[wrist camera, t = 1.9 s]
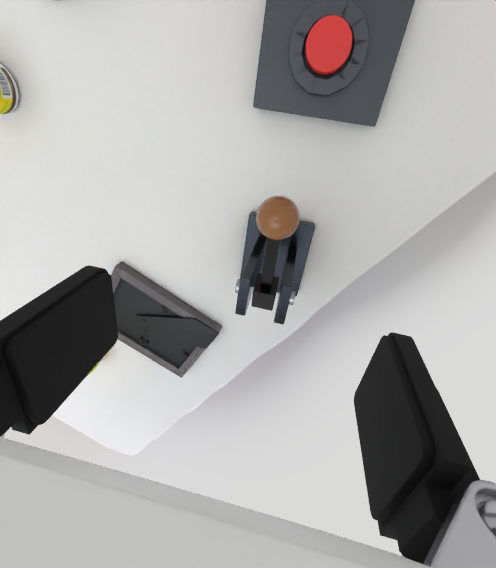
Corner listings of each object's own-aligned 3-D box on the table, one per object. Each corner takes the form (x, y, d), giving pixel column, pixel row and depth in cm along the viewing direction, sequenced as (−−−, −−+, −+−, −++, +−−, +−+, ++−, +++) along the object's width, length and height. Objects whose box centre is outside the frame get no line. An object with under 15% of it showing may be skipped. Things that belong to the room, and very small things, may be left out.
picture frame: (221, 326, 46) (121, 261, 44) (218, 334, 44) (113, 267, 42) (184, 371, 53) (95, 316, 50) (180, 379, 51) (88, 323, 49)
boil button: (355, 24, 24) (358, 17, 22) (342, 77, 26) (344, 75, 24) (311, 18, 24) (311, 12, 23) (301, 72, 26) (301, 69, 24)
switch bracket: (251, 211, 36) (228, 245, 26) (314, 223, 36) (316, 263, 26) (241, 280, 41) (218, 331, 31) (296, 292, 41) (292, 348, 31)
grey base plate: (411, -7, 25) (428, -27, 21) (371, 126, 30) (378, 126, 26) (273, -22, 26) (267, -44, 23) (256, 108, 31) (249, 106, 28)
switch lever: (262, 183, 22) (253, 211, 20) (306, 191, 21) (300, 220, 19) (252, 284, 32) (245, 308, 30) (281, 290, 32) (276, 315, 30)
